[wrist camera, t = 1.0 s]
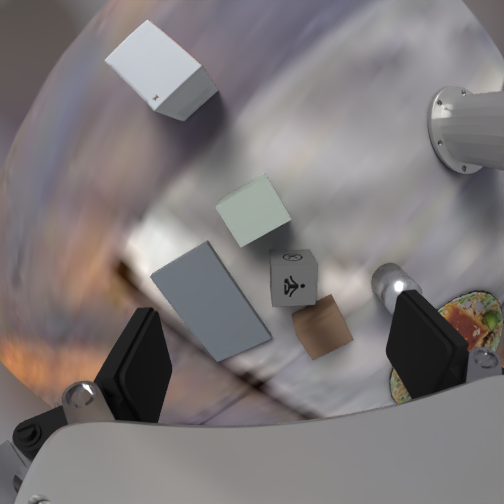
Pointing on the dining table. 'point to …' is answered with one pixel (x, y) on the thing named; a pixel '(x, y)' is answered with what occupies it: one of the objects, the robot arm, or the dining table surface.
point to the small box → (162, 72)
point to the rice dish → (465, 329)
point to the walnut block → (321, 327)
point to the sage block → (252, 210)
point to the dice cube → (293, 278)
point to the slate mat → (211, 302)
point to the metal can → (391, 284)
